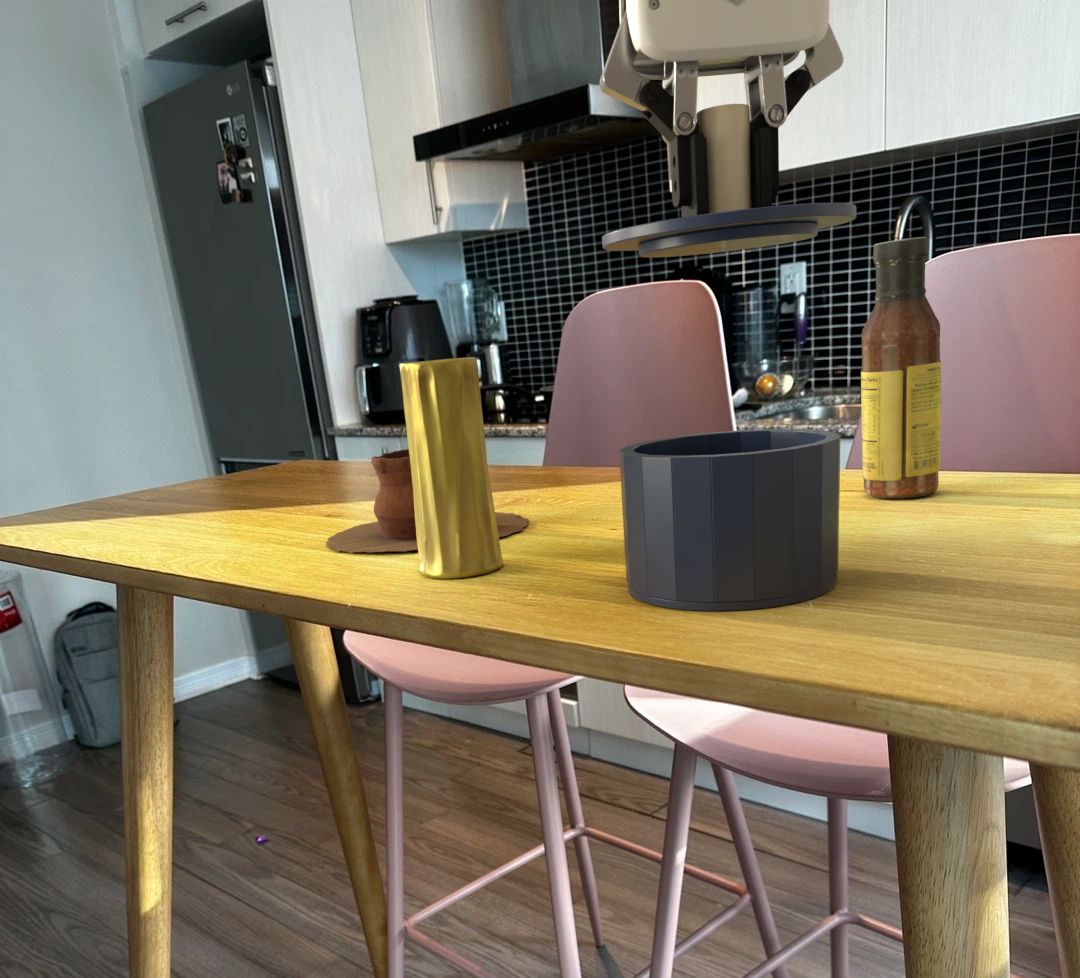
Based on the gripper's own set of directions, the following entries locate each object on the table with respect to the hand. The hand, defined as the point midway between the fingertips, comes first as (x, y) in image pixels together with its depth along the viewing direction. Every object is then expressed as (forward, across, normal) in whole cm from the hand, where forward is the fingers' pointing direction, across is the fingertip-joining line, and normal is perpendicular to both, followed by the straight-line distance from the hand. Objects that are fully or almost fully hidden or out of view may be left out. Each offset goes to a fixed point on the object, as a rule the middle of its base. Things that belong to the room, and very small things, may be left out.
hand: (725, 214), depth 57 cm
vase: (+21, -17, +12) cm, 29 cm away
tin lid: (+1, 0, 0) cm, 1 cm away
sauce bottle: (+21, +22, +23) cm, 38 cm away
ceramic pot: (+21, -18, +29) cm, 40 cm away
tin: (+21, -1, -1) cm, 21 cm away
